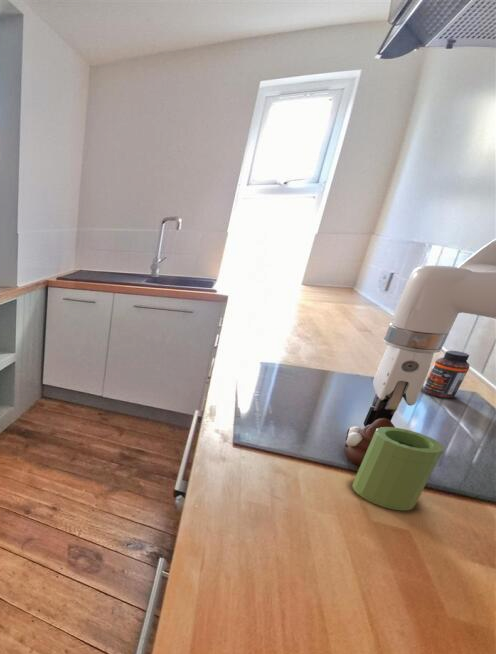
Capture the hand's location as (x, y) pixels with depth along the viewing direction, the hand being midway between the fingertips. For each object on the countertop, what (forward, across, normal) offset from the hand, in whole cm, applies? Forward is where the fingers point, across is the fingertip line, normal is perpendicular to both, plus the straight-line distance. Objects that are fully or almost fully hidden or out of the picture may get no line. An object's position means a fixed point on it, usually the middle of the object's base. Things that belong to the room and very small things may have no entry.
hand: (374, 428), depth 80 cm
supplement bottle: (+5, +46, -19) cm, 49 cm away
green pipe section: (+5, -16, -1) cm, 17 cm away
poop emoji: (+5, -4, 0) cm, 7 cm away
